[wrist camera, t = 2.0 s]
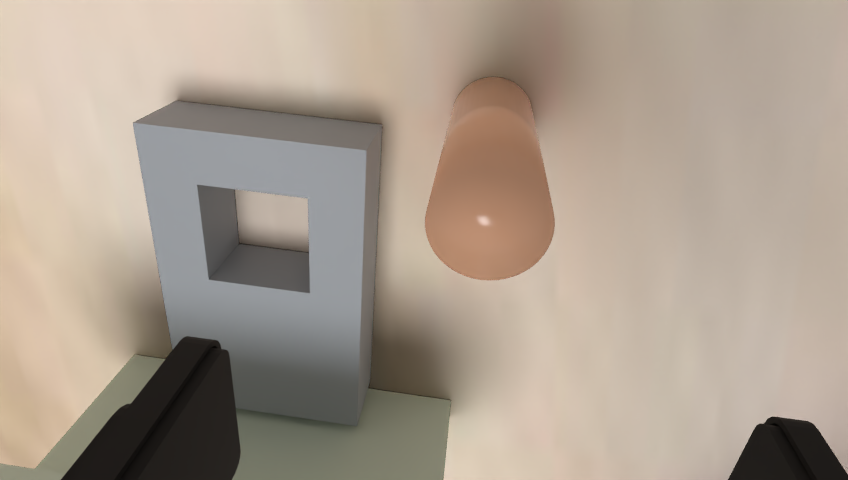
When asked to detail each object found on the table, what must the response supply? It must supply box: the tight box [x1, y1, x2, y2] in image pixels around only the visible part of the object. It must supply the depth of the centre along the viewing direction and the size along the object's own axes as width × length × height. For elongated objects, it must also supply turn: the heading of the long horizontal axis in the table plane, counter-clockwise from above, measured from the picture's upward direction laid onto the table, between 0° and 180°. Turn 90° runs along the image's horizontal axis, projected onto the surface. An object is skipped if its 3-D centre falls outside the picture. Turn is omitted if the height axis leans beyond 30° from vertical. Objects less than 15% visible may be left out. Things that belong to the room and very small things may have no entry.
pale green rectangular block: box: [0, 355, 451, 480], centre depth 31 cm, size 22×7×14 cm, turn 86°
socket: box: [133, 101, 382, 426], centre depth 31 cm, size 11×18×4 cm, turn 176°
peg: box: [425, 77, 555, 280], centre depth 23 cm, size 4×4×12 cm
